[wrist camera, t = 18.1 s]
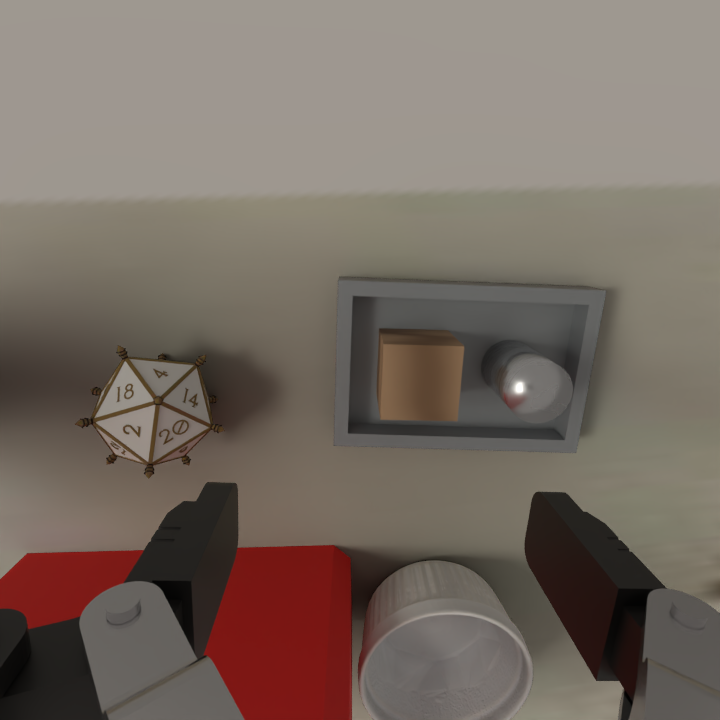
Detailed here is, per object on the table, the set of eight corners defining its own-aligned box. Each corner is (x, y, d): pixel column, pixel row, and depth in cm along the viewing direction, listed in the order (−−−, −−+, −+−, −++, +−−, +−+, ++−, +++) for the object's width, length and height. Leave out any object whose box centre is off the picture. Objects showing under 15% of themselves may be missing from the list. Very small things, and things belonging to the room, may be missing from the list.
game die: (201, 353, 37) (219, 317, 28) (225, 454, 36) (252, 449, 27) (76, 376, 33) (51, 343, 24) (100, 490, 32) (84, 499, 23)
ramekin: (532, 578, 39) (569, 649, 32) (459, 683, 42) (479, 767, 35) (398, 523, 37) (408, 586, 31) (332, 637, 40) (328, 716, 34)
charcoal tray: (334, 431, 35) (333, 445, 33) (339, 276, 32) (338, 280, 29) (561, 438, 35) (576, 452, 33) (587, 286, 32) (606, 290, 30)
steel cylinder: (477, 390, 34) (503, 421, 28) (484, 338, 32) (512, 360, 27) (530, 392, 34) (566, 424, 28) (538, 341, 33) (578, 363, 27)
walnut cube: (376, 393, 34) (380, 419, 29) (379, 328, 32) (383, 344, 27) (442, 394, 34) (457, 421, 29) (447, 330, 32) (464, 346, 27)
